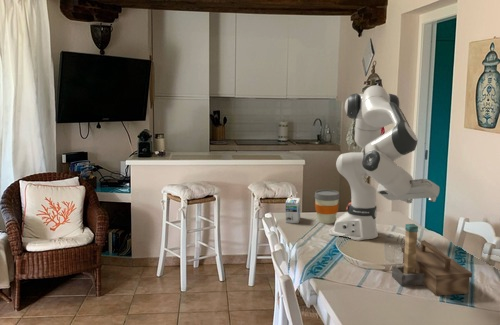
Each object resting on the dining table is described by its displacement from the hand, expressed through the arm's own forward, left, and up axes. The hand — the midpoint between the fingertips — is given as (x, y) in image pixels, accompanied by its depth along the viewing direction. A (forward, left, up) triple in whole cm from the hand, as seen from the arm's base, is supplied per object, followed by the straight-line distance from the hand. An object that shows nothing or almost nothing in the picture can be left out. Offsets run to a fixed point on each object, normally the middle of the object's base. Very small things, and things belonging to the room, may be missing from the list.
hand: (422, 200), depth 175 cm
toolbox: (+2, +3, -30) cm, 31 cm away
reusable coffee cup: (-53, +58, -30) cm, 84 cm away
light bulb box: (-69, +52, -31) cm, 91 cm away
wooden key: (-3, 0, -30) cm, 30 cm away
